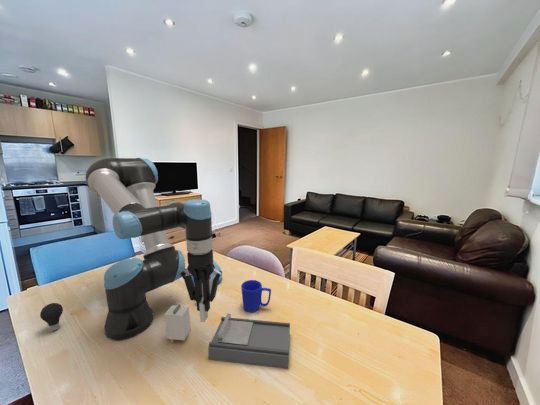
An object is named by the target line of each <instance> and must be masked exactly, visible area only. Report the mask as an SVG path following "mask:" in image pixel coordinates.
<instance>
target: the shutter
mask: <svg viewBox="0 0 540 405" xmlns="http://www.w3.org/2000/svg"><path fill="white" fill-rule="evenodd" d="M224 317H225V320H224V322H223V324H222V326H221V328H220V331H219V333H218V343H224V344H233V345H243V346H248V342H249V338H250V335H251V331H252V327H253V322H245V321H234V320H231V318H232V317H231V313H226V316H224Z"/></svg>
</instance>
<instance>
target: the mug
mask: <svg viewBox="0 0 540 405" xmlns="http://www.w3.org/2000/svg"><path fill="white" fill-rule="evenodd" d="M240 288H241V297H242V306H243V308H244V310H245V311H247V312H255V311H258V310H259V308H260V307H261V306H262V307H267V306H268V305H269V304H270V301H271V295H272V289H271V288H268V287H263V285H262V283H261V281H259V280H256V279H249V280H245V281H243V283H241V286H240ZM263 291H264V292H268V299H267V301H266V303H263V302H262V294H263Z"/></svg>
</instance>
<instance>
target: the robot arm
mask: <svg viewBox="0 0 540 405" xmlns="http://www.w3.org/2000/svg"><path fill="white" fill-rule="evenodd" d="M158 175H159V173H158V169H157V167H156V165H155V163H154V162H153V161H152V160H151V159H149V158H141V157H134V158H131V157H129V158H128V157H121V158H120V157H107V158H101V159H98V160H97V161H95V162H93V163H92V164H90V166H89V167H88V168H87V170H86V172H85V178H84V179H85V182H86V185H87V186H88V187H89V189H91V190H92V191H93V192H96V193H98V195H99V196H100V197H101V198H102V200H103V201H104V203H105V205H107V206H108V208H109V209H110V211H111V212H112V213H113V215H112V226H113V231H114V234H115V236H116V238H118V239H119V240H127V239H128V240H129V239H134V238H135V239H136V238H138V237H142V240H143V243H144V248H145V252H144V253H143V256H142V258H143V260H142V259H141V258H138V257H132V258H127V259H123V260H120V261H118V262H116V263H114V264H112V265H111V266H109V267H108V268H107V269H106V270H105V272H104V274H103V287H104V288H105V290H104V291H105V298H106V303H107V314H106V318H105V323H104V327H103V328H104V334H105V337H106V338H107V339H109V340H114V341H121V340H126V339H130V338H133V337H135V336H137V335H140V333H142V332H144V331H145V330H147V329H148V328H149V327H150V326H151V325H152V323H153V321H154V311H153V309H152V307H151V306H150V304H149V301H148V299H147V293H149V292H151V291H154V290H155V289H156V290H157V289H159V288H161V287H164V286H166V285H168V284H171V283H174V282H175V281H178V280H180V279H181V278H182V279H183V282H184V284H185V287H186V290H187V294H188V296H189V299H190V301H191V302H192V301H194V302H196V311H197V312H199V322H200V323H205V322H206V321H207V320H208V318H209V311H210V309H211V303H212V302H213V301H214V300H215V298H216V295H217V291H218V287H219V286H218V285H219V283H220V281H219V277H220V276H221V274H222V275H223V271H222V270H221V271H217V270H216V269H215V266H214V264H213V260H214V251H213V248H214V246H213V230H212V228H213V227H212V226H213V225H212V223H213V222H212V210H211V204H210V200H209V201H208V200H207V199H191V200H186V201H185V202H180V201H174V202H169V203H168V204H166V205H161V206H158V202H157V199H156V196H155V193H154V190H155V189H156V184H157V183H158V181H159V176H158ZM176 228H181V229H184V230H185V240H186V251H187V256H186V257H187V264H188V265H187V268H186V259H185V256H184V254H183V252H182V251H181V250H180V249H176V247H175V245H174V244H171V243H170V241H169V238H168V235H167V232H166V231H167V230H172V229H176ZM212 273H213V278H214V279H213V283H212V288H211V293H210V285H209V279H210V275H211V274H212ZM191 275H192V276H193V279H194V283H195V286H194V283H193V280H192V277H191ZM218 282H219V283H218ZM202 284H203V295H202ZM202 297H203V299H202Z"/></svg>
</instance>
